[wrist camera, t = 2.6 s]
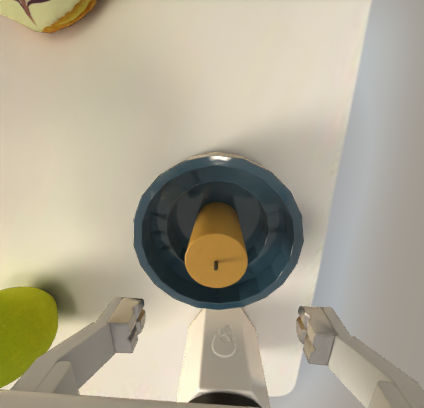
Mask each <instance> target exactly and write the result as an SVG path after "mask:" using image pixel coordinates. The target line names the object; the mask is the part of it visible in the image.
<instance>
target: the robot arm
mask: <svg viewBox="0 0 424 408" xmlns="http://www.w3.org/2000/svg"><path fill="white" fill-rule="evenodd" d="M143 306H144V300H143V299H138V298H125V297H124V298H122V297H114V298H113V299H112V300H111V301H110V303H109V304H108V306H107V307H106V309H105V310H104V311H103V313H102V314H101V316H100V317H99V318H98V320H97V321H96V323H91V324H90V325H88V326H87V327H85V328H83V329H82V330H80V331H79V332H77V333H76V334H74V335H73V336H71V337H69V338H68V339H66V340H65V341H63V342H62V343H60V344H58V345H57V346H55V347H54V348H52V349H51V350H49V351H48V352H46V353H44V354H43V355H41V356H40V357H38V358H37V359H36V360H35V361H34V362H33V364H32V365H31V366H30V367H29V368H28V369H27V371H26V372H25V373H24V374H23V375H22V376H21V378H20V379H19V380H18V381H17V382H16V383H15V385H14V386H13V387H12V388H11V389H10V390H0V408H258V407H243V406H229V405H215V404H201V403H186V402H172V401H158V400H144V399H129V398H115V397H101V396H86V395H80V394H79V390H78V389H79V388H80V387H81V386H82V385H83V384H84V383H85V382H86V381H87V380H89V379H90V378H91V377H92V376H93V375H94V374H95V373H96V372H97V371H98V370H99V369H100V368H101V367H102V366H103V365H104V364H105V363H106V362H107V361H108V360H109V359H110V358H111V357H112V356H113V355H114V354H115V353H133V351H134V348H135V346H136V344H137V341H138V336H137V335H138V334H139V333H141V332H142V329H143V327H144V323H145V311H144V310H143ZM298 313H299V315H300V317H299V318H298V319H297V322H296V329H297V334H298V337H299V340H300V341H301V342H302V343H303V344H304V347H303V350H304V353H305V355H306V358H307V360H308V363H309V364H317V365H328V367H329V368H330V370H331V371H332V372H333V373H334V374H335V375H336V376H337V377H338V378H339V379H340V380H341V381H342V383H343V384H344V385H345V386H346V387H347V388H348V389H349V390H350V391H351V392H352V393H353V394H354V395H355V397H357V399H358V400H359V401H360V402H361V403H362V404H363V405H364V406H365V407H366V408H424V390H423V389H422V387H421V386H420V385H419V384H418V382H416V381H415V380H414V379H412V378H411V377H409V376H408V375H407V374H405V373H404V372H402V371H401V370H400V369H399V368H397V367H396V366H394V365H393V364H391V363H390V362H389V361H387V360H386V359H385V358H383V357H382V356H381V355H379V354H378V353H376V352H375V351H373V350H372V349H371V348H369V347H368V346H366V345H365V344H364V343H362V342H361V341H360V340H358V339H357V338H356V337H353V336H351V335H350V334H349V332H348V331H347V330H346V328H345V326H344V325H343V323H342V322H341V321H340V319H339V318H338V316H337V315H336V313H335V312H334V310H333V309H332V308H331V307H309V306H300V307H299V310H298Z"/></svg>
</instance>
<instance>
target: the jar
mask: <svg viewBox="0 0 424 408" xmlns="http://www.w3.org/2000/svg"><path fill="white" fill-rule="evenodd" d="M176 402H186V403H201V404H215V405H229V406H243V407H258V408H270V403H269V398H268V392H267V387H266V382H265V376H264V371H263V366H262V361H261V355H260V350H259V345H258V339H257V334H256V330H255V329H254V327H253V325H252V324H251V322H250V320H249V319H248V317H247V316H246V314H245V312H244V311H243V309H242V308H241V307H239V308H231V309H224V310H213V309H205V308H203V309H202V311H201V312H200V313H199V315H198V316H197V317H196V318H195V320H194V321H193V322H192V324H191V325H190V326H189V329H188V335H187V341H186V347H185V353H184V359H183V365H182V371H181V377H180V383H179V389H178V395H177V401H176Z"/></svg>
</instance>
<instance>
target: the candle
mask: <svg viewBox="0 0 424 408" xmlns="http://www.w3.org/2000/svg"><path fill="white" fill-rule="evenodd" d="M185 265H186V269H187V271H188V273H189V274H190V276H191V277H192V278H193V279H194V280H195V281H197V282H198V283H200V284H202V285H204V286H207V287H211V288H222V287H227V286H230V285H232V284H234V283H236V282H237V281H238V280H239V279H240V278H241V277H242V276H243V275H244V273H245V271H246V269H247V265H248V257H247V252H246V248H245V244H244V240H243V235H242V231H241V227H240V223H239V219H238V215H237V213H236V211H235V210H234V209H233V208H232V207H231V206H229V205H228V204H226V203H222V202H212V203H209V204H207V205H205V206H204V207H202V208H201V210H200V211H199V212H198V214H197V217H196V221H195V224H194V227H193V231H192V234H191V237H190V241H189V244H188V247H187V251H186V254H185Z"/></svg>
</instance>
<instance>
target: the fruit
mask: <svg viewBox="0 0 424 408" xmlns="http://www.w3.org/2000/svg"><path fill="white" fill-rule="evenodd" d="M57 328H58V311H57V305H56V302H55V300H54V298H53V297H52V296H51V295H50V294H48V293H47V292H45V291H43V290H41V289H38V288H33V287H15V288H8V289H4V290H0V388H2V387H4V386H6V385H8V384H9V383H11V382H13V381H14V380H16V379H18V378H19V377H20V376H22V375H23V374H24V373H25V372H26V371H27V369H28V368H29V367H30V366H31V365H32V364H33V362H34V361H35V360H36V359H37V358H38V357H40V356H41V355H43V354H44V353H46V352H47V351H48V349H49V348H50V346H51V344H52V342H53V340H54V338H55V336H56V333H57Z"/></svg>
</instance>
